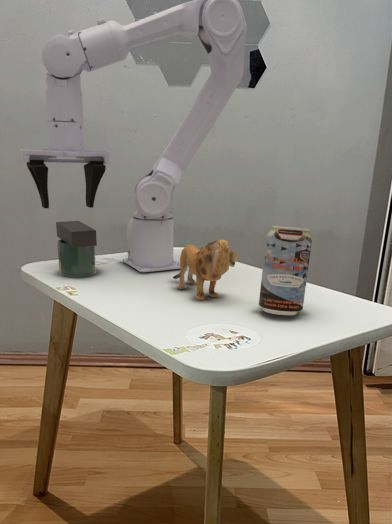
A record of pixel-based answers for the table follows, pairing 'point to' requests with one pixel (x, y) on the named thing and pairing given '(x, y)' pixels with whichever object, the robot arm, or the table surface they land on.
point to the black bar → (76, 233)
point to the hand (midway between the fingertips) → (68, 207)
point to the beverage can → (285, 270)
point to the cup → (76, 260)
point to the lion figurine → (206, 265)
